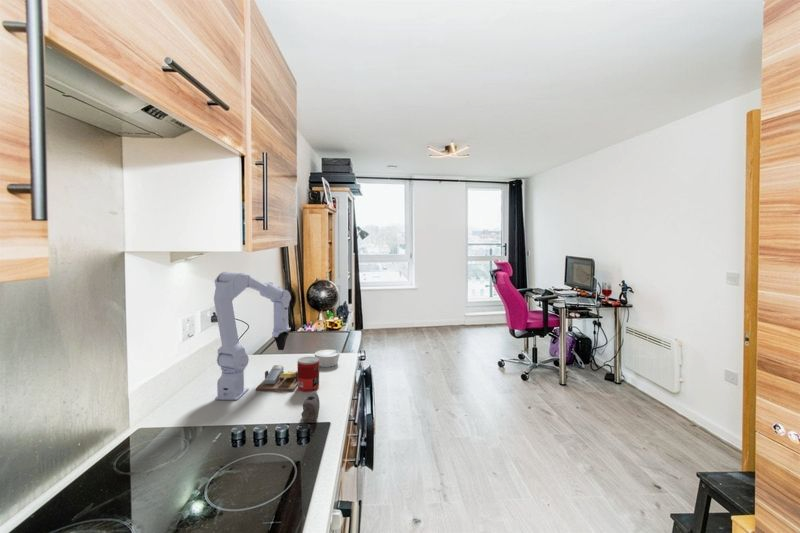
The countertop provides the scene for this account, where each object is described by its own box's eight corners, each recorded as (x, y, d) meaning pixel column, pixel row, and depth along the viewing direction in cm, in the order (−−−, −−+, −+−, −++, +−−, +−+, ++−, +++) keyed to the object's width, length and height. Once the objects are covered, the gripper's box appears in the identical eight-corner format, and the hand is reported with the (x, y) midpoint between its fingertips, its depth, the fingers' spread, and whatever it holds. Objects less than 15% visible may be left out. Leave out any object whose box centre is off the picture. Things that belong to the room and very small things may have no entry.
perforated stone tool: (306, 405, 122) (306, 385, 122) (322, 404, 123) (322, 384, 122) (299, 427, 107) (299, 405, 107) (317, 426, 108) (317, 404, 107)
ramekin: (340, 367, 160) (340, 355, 160) (314, 369, 157) (314, 357, 157) (338, 359, 171) (338, 348, 171) (314, 361, 168) (314, 350, 168)
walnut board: (293, 391, 133) (293, 379, 133) (255, 390, 133) (255, 379, 133) (305, 375, 149) (305, 365, 149) (271, 375, 149) (271, 364, 149)
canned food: (317, 391, 133) (317, 362, 132) (295, 392, 133) (295, 362, 132) (320, 383, 141) (320, 356, 140) (299, 384, 140) (299, 356, 140)
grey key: (275, 383, 136) (275, 379, 136) (264, 383, 136) (263, 379, 136) (283, 369, 146) (283, 365, 146) (273, 369, 146) (273, 365, 146)
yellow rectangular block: (291, 377, 136) (291, 372, 136) (279, 377, 136) (280, 372, 136) (298, 376, 146) (298, 371, 146) (287, 376, 146) (288, 371, 146)
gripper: (284, 321, 144) (284, 355, 144) (295, 314, 158) (295, 345, 159) (267, 321, 144) (267, 354, 144) (279, 314, 158) (279, 344, 159)
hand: (281, 349), depth 152 cm, fingers closed
